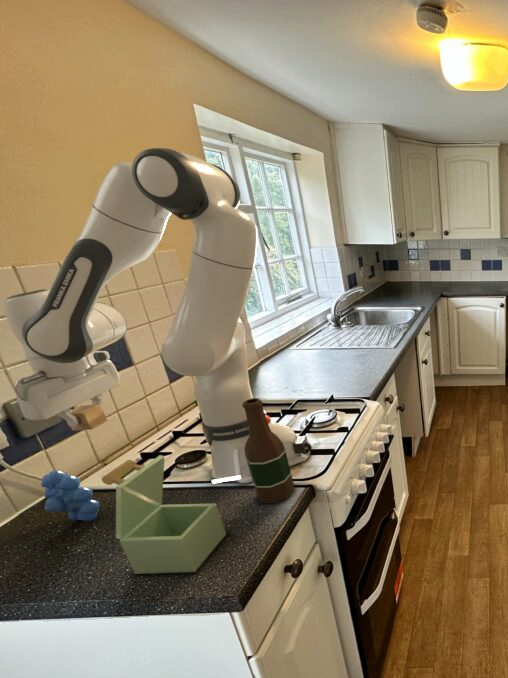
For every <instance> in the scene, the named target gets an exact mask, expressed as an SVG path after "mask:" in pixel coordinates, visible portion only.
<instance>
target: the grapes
mask: <svg viewBox="0 0 508 678" xmlns="http://www.w3.org/2000/svg"><path fill="white" fill-rule="evenodd" d="M40 484H41V485H40V486H41V488H42V487H43V488H45V489H44V498H47V500H46V501H45V504H44V511H48V512H52V513H58V512H68V519H71V520H75V521H84V522H91V521H94V520H95V519H96V518H97V516H98V512H99V510H100V501H99V500H95V499H92V498H93V495H94V492H93V491H94V490H93V489H92V488H89V487H84V486H83V487H82V486H80V485H81V478H80V477H78V476H75V475H69V474H68V472H66V471H63V470H51V471H50V472H49V473H48V474H44V476H42V478H41V482H40Z"/></svg>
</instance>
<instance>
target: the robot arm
mask: <svg viewBox="0 0 508 678" xmlns="http://www.w3.org/2000/svg"><path fill="white" fill-rule="evenodd" d="M241 196H242V195H241V190H240V187H239V185H238V183H237V181H236V180H235V179H234V178H233V176H232V175H231V173H230V174H229V172H227V171H226V170H225V169H223V168H222V167H221V166H218V165H216V164H213V163H210V162H207V161H206V160H204V159H202V158H200V157H199V156H196V155H192V154H189V153H185V152H180V151H177V150H174V149H171V148H165V147H153V148H148V149H144V150H142V151H140V152H139V153H138V154H137V155H136V156H135V157H134V159H133V161H120V162H116V163H114V164H113V165H112V166H111V167H110V169H109V170H108V171H107V173H106V175H105V176H104V178H103V179H102V182H101V183H100V185H99V187H98V189H97V191H96V194H95V196H94V198H93V200H92V204H91V207H90V210H89V213H88V215H87V218H86V221H85V223H84V225H83V227H82V230H81V231H80V234H79V235H78V237H77V239H76V241H75V242H74V244H73V245H72V247H71V248H70V250H69V252H67V255H66V256H65V259H64V261H63V262H62V264H61V266H60V267H59V271H58V272H57V274H56V277H55V279H54V281H53V283H52V285H51V288H50V289H45V288H44V289H38V290H32V291H26V292H23V293H18V294H14V295H11V296H8V297H6V298H5V300H4V301H3V311H4V314H5V317H6V320H7V323H8V325H9V327H10V329H11V331H12V333H13V335H14V337H15V338H16V340H17V341H18V342H20V344H21V345H22V346H23V349H24V356H25V358H26V360H27V362H28V364H29V366H30V369H31V370H32V372H33V373H32V374H30V375H28V376H24V377H21V378H19V379H18V380H17V381H16V383H15V385H14V387H13V391H14V393H15V395H16V400H17V402H18V406H19V408H20V411H21V413H22V415H23V417H24V418H25V419H27V420H30V421H44V420H48V419H50V418H52V417H54V416H57V417H59V418H61V419H62V420H64V421H66V423H67V425H68V426H69V427H70V426H77V425H79V424H81V423H82V421H81V419H80V417H74V416H73V415H71V414H70V413H71V412H72V410H73V409H71V408H73V407H76V406H78V405H80V404H83V403H85V402H87V401H89V400H90V401H91V405H101V407H102V410H103V412H104V413H105V410H104V408H103V401H104V396H103V394H104V393H106V392H108V391H110V390H112V389H114V388H117V387H119V386H120V383H121V378H120V375H119V372H118V370H117V368H116V366H115V364H114V363H113V362H112V361H111V360H110V358H111V356H110V353H109V352H108V351H106V350H101V349H103V348H106V347H108V346H110V345H112V344H113V343H116V342H117V341H120V340H121V339H122V338H123V337H124V336H125V335H126V333H127V330H128V325H127V321H126V319H125V317H124V315H123V314H122V313H121V312H120V311H119V310H118V309H117V308H115V307H114V306H112V305H110V304H108V303H103V302H99V301H98V300H99V298H100V296H101V293H102V291H103V290H104V288H105V286H106V285H107V284H108V283H109V282H110V281H111V280H112V279H113V278H114V277H116V276H117V275H119V274H120V273H122V272H123V271H125V270H127V269H129V268H131V267H134V266H135V265H137V264H140V263H142V262H144V261H146V260H148V259H149V258H150V257H151V256H152V254H153V253H154V251H155V250H156V248H157V247H158V245H159V244H160V242H161V240H162V236H163V234H164V231H165V229H166V225H167V222H168V220H169V218H170V216H171V215H174V216H175V217H177V218H178V219H179V220H181V221H182V220H183V221H189V220H190V221H191V223H192V224H193V227H194V230H195V231H194V240H193V246H192V250H191V257H190V262H189V266H188V267H189V268H188V273H187V279H186V284H185V288H184V292H183V294H182V296H181V299H180V301H179V304H178V307H177V309H176V312H175V314H174V318H173V320H172V322H171V325H170V328H169V332H168V334H167V336H166V338H165V340H164V342H163V344H162V345H161V349H160V353H161V358H162V360H163V362H164V363H165V364H164V365H166V366H167V367H168V368H169V369H170V370H172V371H173V372H175V373H177V374H178V375H181V376H185V377H190V378H191V377H193V378H194V377H195V382H194V390H193V393H194V398H195V401H196V404H197V407H198V411H199V414H200V416H201V419H202V420H201V421H202V422H201V425H202V427H201V428H202V432H203V436H204V438H205V441H206V442H207V444H208V446H209V449H210V454H211V456H210V457H211V476H212V478H214V479H212V480H211V483H212V484H219V483H223V482H236V483H240V484H248V483H251V482H252V483H253V480H252V477H251V473H250V470H249V467H248V463H247V460H246V456H245V444H246V442H247V440H248V438H249V427H248V422H247V417H246V412H245V409H244V408H243V407H242V406H243V402H245V401H246V400H249V399H253V398H254V397H253V393H252V389H251V385H250V378H249V366H248V356H247V355H248V354H247V347H246V346H247V345H246V335H247V331H246V326H245V324H244V322H243V321H242V319H240V318H241V315H242V314H243V313H242V312H243V310H244V308H245V305H246V303H247V301H248V296H249V293H250V287H251V282H252V278H253V273H254V269H255V264H256V257H257V247H258V228H257V225H256V222H255V221H254V219H253V218H252V217H251V216H250V215H249V214H247V213H246V212H244V211H243V210H241V209H239V208H238V207H239V205H240V202H241ZM263 411H264V414H265V416H266V419H267V422H268V425H269V428H270V430H271V431H272V432H273V433H275V434H276V435H277V436H278V437H279V439H280V440H281V441H282V443H283V445H284V448H285V451H286V455H287V459H288V463H289V467H290V468H291V467H292V466H295V465H297V464H300V463H302V462H306V461H307V460H308V459H309V457H310V455H311V450H312V445H311V444H310V443H309V441H308V437H307V435H296V433H295V431H294V430H293V429H292V428H291V427H289V426H288V425H286V424H282V423H279V422H275V421H272V419H271V416H270V415H268V414H267V411H265V409H264V408H263Z"/></svg>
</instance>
